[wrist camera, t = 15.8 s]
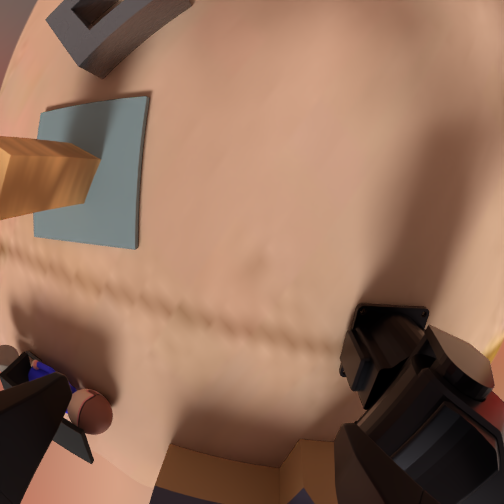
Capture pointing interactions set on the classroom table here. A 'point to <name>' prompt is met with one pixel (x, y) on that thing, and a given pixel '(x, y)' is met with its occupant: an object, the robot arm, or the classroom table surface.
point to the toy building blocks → (248, 478)
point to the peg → (42, 175)
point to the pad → (99, 172)
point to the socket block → (109, 28)
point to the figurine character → (79, 409)
